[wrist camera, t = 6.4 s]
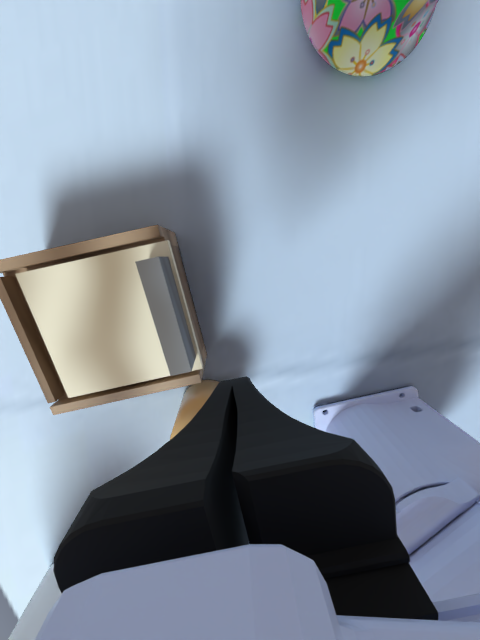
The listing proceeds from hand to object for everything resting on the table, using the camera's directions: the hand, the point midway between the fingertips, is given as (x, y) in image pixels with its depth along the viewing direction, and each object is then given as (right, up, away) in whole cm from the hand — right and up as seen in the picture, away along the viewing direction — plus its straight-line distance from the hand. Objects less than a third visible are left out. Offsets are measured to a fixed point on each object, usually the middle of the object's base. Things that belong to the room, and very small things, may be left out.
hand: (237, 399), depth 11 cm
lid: (-8, +3, +5) cm, 10 cm away
